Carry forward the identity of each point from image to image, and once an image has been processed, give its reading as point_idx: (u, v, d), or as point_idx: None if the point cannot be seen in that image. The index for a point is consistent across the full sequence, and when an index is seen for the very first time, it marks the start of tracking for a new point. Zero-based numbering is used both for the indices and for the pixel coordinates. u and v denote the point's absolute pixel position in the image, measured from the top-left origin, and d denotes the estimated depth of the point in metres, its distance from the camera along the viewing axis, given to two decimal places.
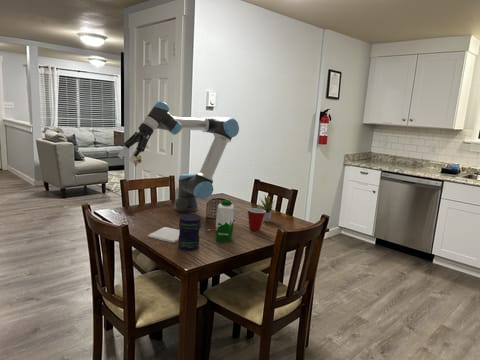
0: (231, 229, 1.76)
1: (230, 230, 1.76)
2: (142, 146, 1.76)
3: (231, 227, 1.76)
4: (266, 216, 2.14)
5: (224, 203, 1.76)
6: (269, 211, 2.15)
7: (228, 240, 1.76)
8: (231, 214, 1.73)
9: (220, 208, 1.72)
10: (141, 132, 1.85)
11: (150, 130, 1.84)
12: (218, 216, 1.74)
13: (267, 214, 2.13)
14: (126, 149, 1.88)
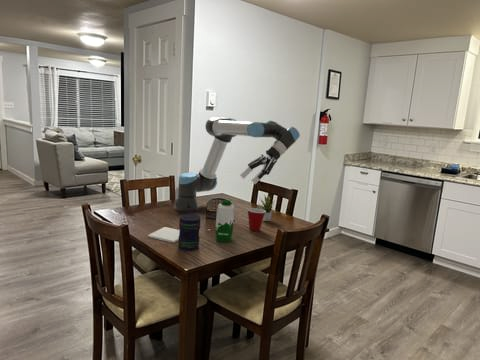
0: (231, 229, 1.76)
1: (230, 230, 1.76)
2: None
3: (231, 227, 1.76)
4: (266, 216, 2.14)
5: (224, 203, 1.76)
6: (269, 211, 2.15)
7: (228, 240, 1.76)
8: (231, 214, 1.73)
9: (220, 208, 1.72)
10: None
11: None
12: (218, 216, 1.74)
13: (267, 214, 2.13)
14: None
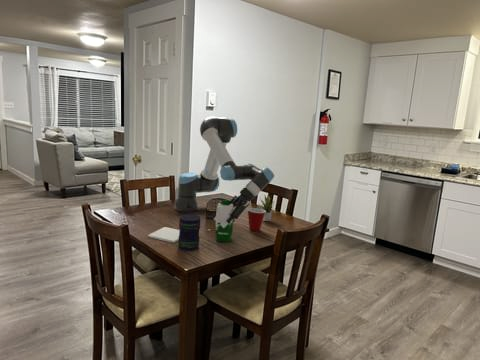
0: (231, 228, 1.76)
1: (230, 230, 1.76)
2: None
3: (231, 226, 1.76)
4: (266, 216, 2.14)
5: (223, 202, 1.77)
6: (269, 211, 2.15)
7: (228, 239, 1.76)
8: (230, 213, 1.74)
9: (219, 207, 1.73)
10: None
11: None
12: (217, 215, 1.74)
13: (267, 214, 2.13)
14: None
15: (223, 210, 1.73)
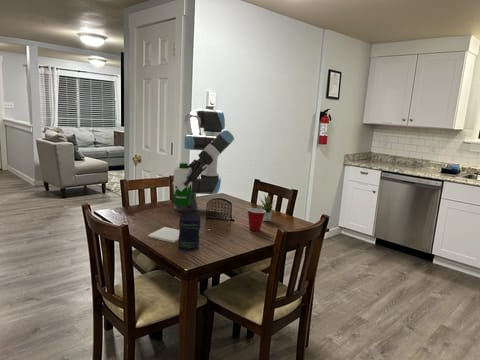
0: (189, 192, 1.71)
1: (188, 193, 1.71)
2: None
3: (189, 190, 1.71)
4: (266, 216, 2.14)
5: (181, 166, 1.71)
6: (269, 211, 2.15)
7: (186, 203, 1.71)
8: (188, 176, 1.69)
9: (176, 170, 1.67)
10: None
11: None
12: (175, 179, 1.69)
13: (267, 214, 2.13)
14: None
15: (180, 173, 1.68)
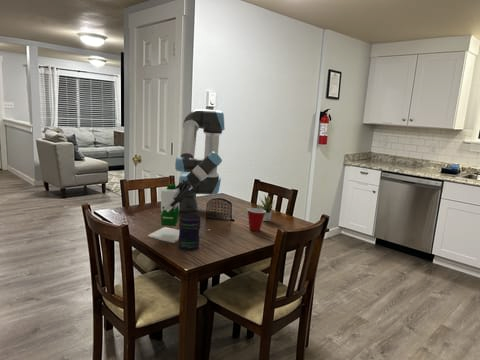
0: (176, 213, 1.74)
1: (175, 214, 1.74)
2: None
3: (176, 211, 1.74)
4: (266, 216, 2.14)
5: (169, 187, 1.75)
6: (269, 211, 2.15)
7: (173, 224, 1.74)
8: (175, 197, 1.72)
9: (163, 191, 1.71)
10: None
11: None
12: (162, 200, 1.73)
13: (267, 214, 2.13)
14: None
15: (167, 194, 1.71)
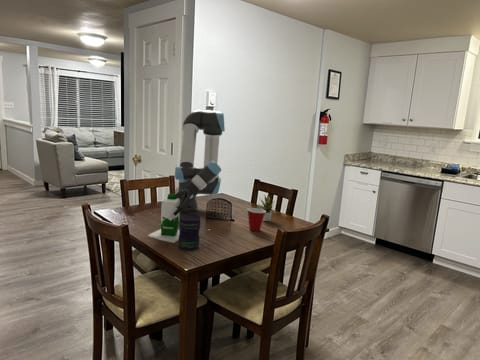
0: (176, 223, 1.75)
1: (175, 224, 1.75)
2: None
3: (176, 221, 1.75)
4: (266, 216, 2.14)
5: (169, 197, 1.76)
6: (269, 211, 2.15)
7: (173, 234, 1.75)
8: None
9: (164, 202, 1.72)
10: None
11: None
12: (162, 210, 1.74)
13: (267, 214, 2.13)
14: None
15: (167, 204, 1.72)
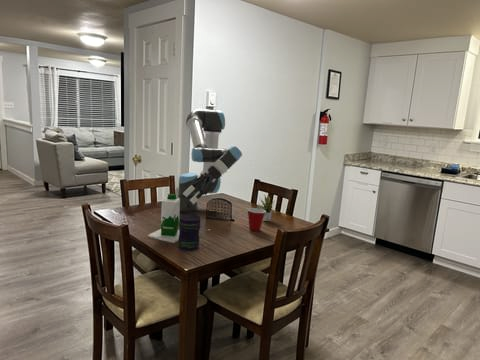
0: (176, 223, 1.75)
1: (175, 224, 1.75)
2: None
3: (176, 221, 1.75)
4: (266, 216, 2.14)
5: (169, 197, 1.76)
6: (269, 211, 2.15)
7: (173, 234, 1.75)
8: (175, 208, 1.73)
9: (164, 202, 1.72)
10: None
11: None
12: (162, 210, 1.74)
13: (267, 214, 2.13)
14: None
15: (167, 204, 1.72)
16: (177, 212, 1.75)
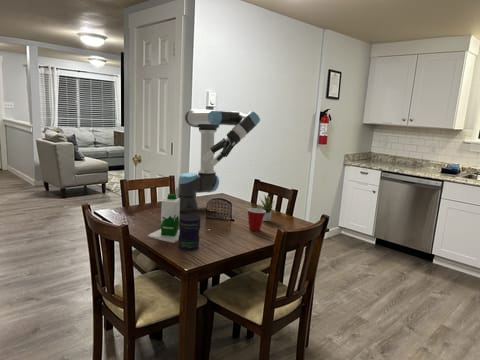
0: (176, 223, 1.75)
1: (175, 224, 1.75)
2: None
3: (176, 221, 1.75)
4: (266, 216, 2.14)
5: (169, 197, 1.76)
6: (269, 211, 2.15)
7: (173, 234, 1.75)
8: (175, 208, 1.73)
9: (164, 202, 1.72)
10: None
11: None
12: (162, 210, 1.74)
13: (267, 214, 2.13)
14: None
15: (167, 204, 1.72)
16: (177, 212, 1.75)
